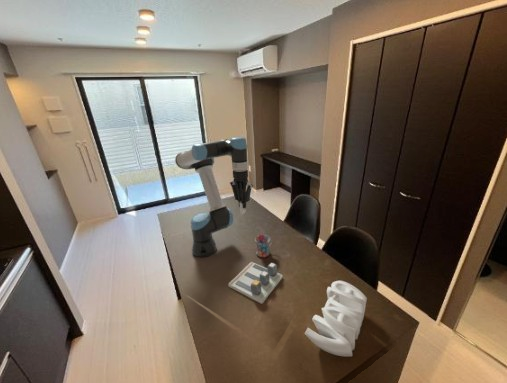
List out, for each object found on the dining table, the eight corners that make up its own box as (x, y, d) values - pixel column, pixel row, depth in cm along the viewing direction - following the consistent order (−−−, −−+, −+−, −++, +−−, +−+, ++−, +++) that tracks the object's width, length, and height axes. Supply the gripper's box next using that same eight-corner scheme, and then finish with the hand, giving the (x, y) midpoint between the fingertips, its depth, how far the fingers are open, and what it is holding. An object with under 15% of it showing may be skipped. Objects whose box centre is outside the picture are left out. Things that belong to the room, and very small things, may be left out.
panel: (228, 286, 115) (227, 274, 112) (251, 264, 130) (250, 253, 127) (261, 304, 104) (261, 291, 101) (282, 277, 119) (282, 266, 116)
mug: (259, 260, 133) (259, 245, 129) (252, 252, 141) (252, 237, 137) (277, 254, 138) (277, 239, 134) (269, 246, 146) (269, 232, 142)
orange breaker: (251, 292, 108) (250, 283, 106) (255, 287, 110) (255, 278, 108) (257, 295, 106) (256, 286, 104) (261, 290, 108) (261, 281, 106)
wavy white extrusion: (343, 378, 75) (347, 356, 71) (299, 347, 85) (300, 327, 81) (371, 307, 100) (374, 288, 96) (334, 290, 110) (336, 272, 106)
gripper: (225, 170, 111) (228, 213, 120) (246, 173, 104) (248, 219, 113) (234, 166, 117) (237, 207, 126) (255, 169, 110) (257, 213, 118)
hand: (242, 213), depth 119 cm, fingers closed
